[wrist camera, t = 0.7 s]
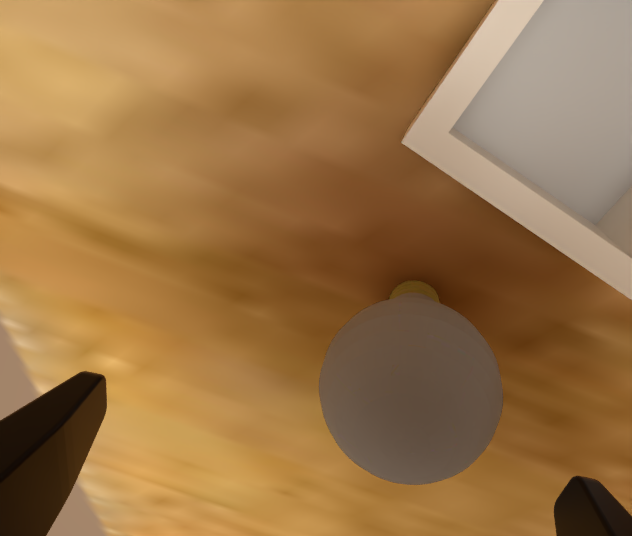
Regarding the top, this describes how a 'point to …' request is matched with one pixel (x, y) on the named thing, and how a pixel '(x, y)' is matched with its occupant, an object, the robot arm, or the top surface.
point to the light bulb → (411, 388)
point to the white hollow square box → (544, 125)
